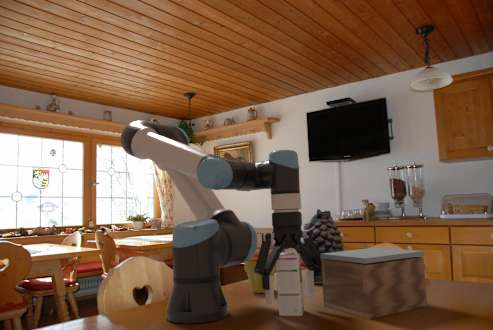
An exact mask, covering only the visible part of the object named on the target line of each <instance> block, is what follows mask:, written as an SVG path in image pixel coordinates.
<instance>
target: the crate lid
mask: <svg viewBox="0 0 493 330" xmlns="http://www.w3.org/2000/svg"><path fill="white" fill-rule="evenodd" d="M320 257H321V258H322V259H330V260H338V261H347V262H355V263H364V264H367V263H374V262H382V261H389V260H397V259H404V258H412V257H425V250H413V249H402V248H401V249H400V248H399V249H398V248H386V247H385V248H383V247H371V248H370V247H369V248H363V249H362V248H361V249H353V250H345V251H341V252H332V253H323V254H320Z"/></svg>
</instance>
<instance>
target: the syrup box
mask: <svg viewBox="0 0 493 330" xmlns="http://www.w3.org/2000/svg"><path fill="white" fill-rule="evenodd" d="M301 261H302V259H301V258H300V253H297V251H296V252H293V251H292V252H291V251H290V252H281V253H280V255H279V257H278V260H277V262H276V271H275V273H276V287H277V288H276V289H277V302H278V303H277V304H278V315H279V316H282V317H283V316H284V317H302V316H303V315H304V311H305V304H304V291H303V289H304V288H303V276H302V273H303V272H302V262H301Z"/></svg>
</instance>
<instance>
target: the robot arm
mask: <svg viewBox="0 0 493 330" xmlns="http://www.w3.org/2000/svg"><path fill="white" fill-rule="evenodd" d="M120 144H121V147H122V148H123V150H124V152H125V153H126V154H128V155H130V156H132V157H134V158H136V159H140V160H147V159H148V160H149V161H153V162H154V163H155V165H156V167H157V168H158V169H159V170H161V171H163V172H166V174H167V175H168V176H169V178H170V180H171V181H172V184H174V186H175V188H176V189H177V190H178V192H179V193H180V196H181V197H182V199H183V200H184V202H185V203H186V204H187V206H188V208H189V210H190V211H191V213H192V214H193V216H194V217H195V219H196V220H191V221H186V222H181V223H179V224H177V225H175V226H174V228H173V229H172V241H171V247H172V248H171V249H172V250H171V251H172V276H173V277H172V279H173V280H172V283H173V284H172V289H171V292H170V295H169V300H168V301H167V306H166V319H167V321H169V322H172V323H176V324H203V323H210V322H215V321H219V320H222V319H224V318H226V317H227V316H228V314H229V312H228V310H229V308H228V302H227V298H226V297H225V293H224V291H223V288H222V286H221V281H220V280H221V279H220V278H221V277H220V272H221V271H220V268H226V267H230V266H237V265H242V264H244V262H246V261H248V260H250V259H253V257H254V256H255V254H256V251H257V249H258V245H257V244H258V242H259V241H258V240H259V239H258V235H257V231H256V229H255V227H254V226H253V225H252V224H250V223H249V222H246V221H243V220H242V221H240V219H239V217H238V216H237V214H236V213H235V212H234V211H233V209H228V208H225V207H224V205H223V204H222V202H221V201H220V199H219V198H218V196H217V195H216V193H215V192H214V191H219V190H227V191H228V190H230V191H231V190H233V191H234V190H236V191H238V192H251V191H261V190H270V200H271V210H272V211H273V212H272V213H271V225H272V232H271V233H270V232H263V233H262V234H261V245H260V248H259V252H258V255H257V258H258V259H257V262H256V266H255V269H254V272H255V273H257V274H260V275H261V276H262V287H263V289H264V290H265V293H264V295H265V303H266V304H269V305H275V290H274V283H273V276H270V274H271V272H272V270H273V268H274V266H275V264H276V262H277V260H278V257H279V255H280V253H283V251H284V250H288V249H294V250H295V251H296V253H300V259H301V261H302V263H303V264H304V266H305V265H306V267H307V268H308V270H305V269H304V283H305V295H306V296H305V297H309V298H315V297H316V296H315V295H316V294H315V293H316V292H315V291H316V290H315V284H317V283H316V270H318V267H321V266H322V263H321V260H320V257H319V255H318V252H317V249H316V247H315V244H314V241H313V237H312V231H311V230H304V229H303V230H302V225H303V220H302V217H303V215H302V212H301V211H300V210H301V209H302V199H301V187H300V169H301V168H300V164H299V155H298V153H297V151H295V150H291V149H280V150H279V149H277V150H274V151H273V150H272V151H270V152H269V154H268V159H267V160H263V161H245V160H235V159H227V158H223V157H221V156H218V155H215V154H213V153H210V152H207V151H204V150H202V149H199V148H196V147H194V146H191V145H190V138H189V136H188V134H187V132H186V131H185V130H184V129H183V128H180V127H177V126H175V125H172V124H165V123H164V124H163V123H159V122H152V121H147V120H136V121H132V122H130V123H128V124H127V125H126V126H125V127H124V128H123V129H122V132H121V134H120ZM213 190H214V191H213ZM301 239H302V240H301ZM303 240H304V243H305V246H306V248H307V251H308V253H307V251H306V250H305V248H304V245H303V242H302V241H303ZM273 241H274V243H273V245H272V242H273ZM267 258H268V259H267Z"/></svg>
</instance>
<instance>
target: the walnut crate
mask: <svg viewBox="0 0 493 330" xmlns="http://www.w3.org/2000/svg"><path fill="white" fill-rule="evenodd" d="M424 257H425V256H420V257H412V258H404V259H397V260H389V261H382V262H374V263H367V264H364V263H355V262H347V261H338V260H330V259H321V263H322V281H323V283H322V297H323V306H324V307H327V308H329V309H334V310H337V311H339V312H340V311H341V312H344V313H348V314H351V315H354V316H358V317H361V318H365V319H368V320H370V319H376V318H379V317H380V318H381V317H385V316H388V315H393V314H398V313H402V312H406V311H407V312H408V311H411V310H416V309H420V308H425V307H428V293H427V292H428V291H427V283H426V282H427V281H426V269H425V259H424Z"/></svg>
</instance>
